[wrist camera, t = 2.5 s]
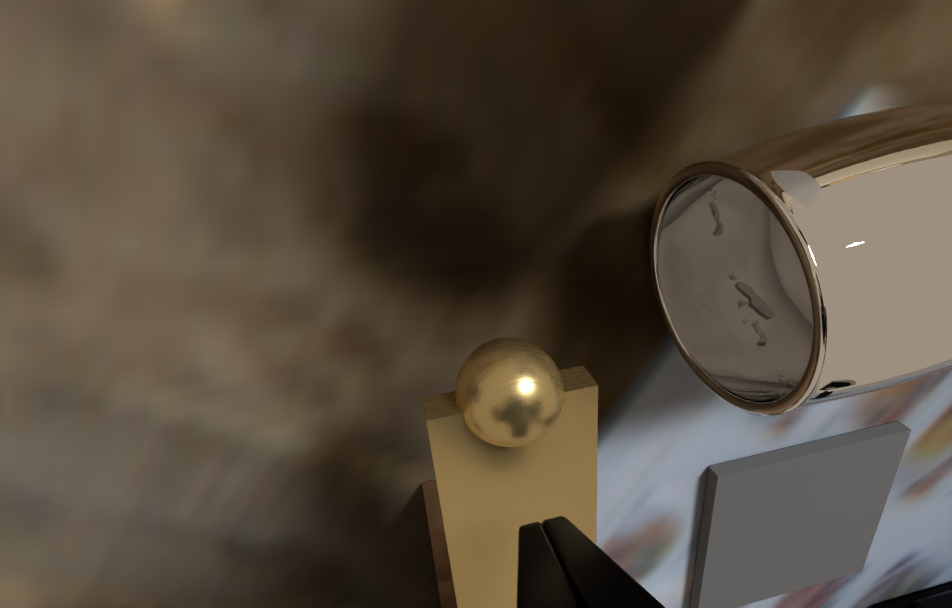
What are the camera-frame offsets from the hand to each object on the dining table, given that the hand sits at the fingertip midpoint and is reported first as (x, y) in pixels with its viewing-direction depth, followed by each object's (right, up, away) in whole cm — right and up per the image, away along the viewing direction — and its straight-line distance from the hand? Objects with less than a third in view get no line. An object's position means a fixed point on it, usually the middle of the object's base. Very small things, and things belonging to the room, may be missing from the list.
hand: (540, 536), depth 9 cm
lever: (0, 0, +3) cm, 3 cm away
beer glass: (+20, +8, +6) cm, 22 cm away
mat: (+13, -6, +15) cm, 21 cm away
